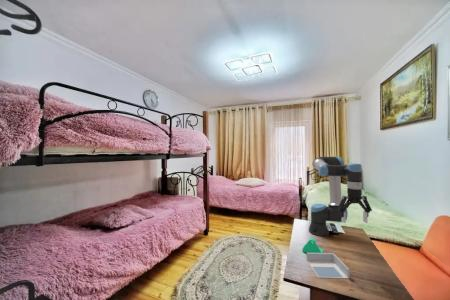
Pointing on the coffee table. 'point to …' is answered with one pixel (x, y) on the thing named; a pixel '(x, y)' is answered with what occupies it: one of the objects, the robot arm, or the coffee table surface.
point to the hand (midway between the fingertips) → (354, 222)
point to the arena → (328, 265)
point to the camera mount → (311, 247)
